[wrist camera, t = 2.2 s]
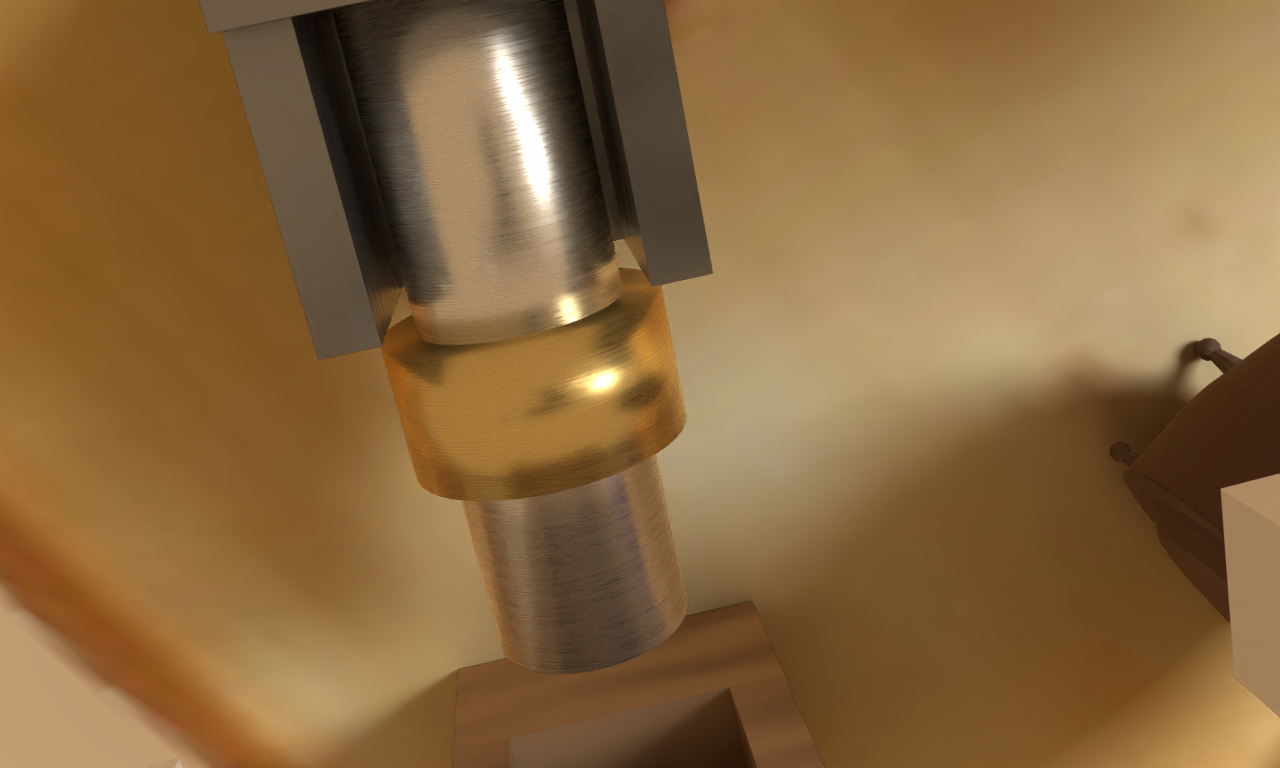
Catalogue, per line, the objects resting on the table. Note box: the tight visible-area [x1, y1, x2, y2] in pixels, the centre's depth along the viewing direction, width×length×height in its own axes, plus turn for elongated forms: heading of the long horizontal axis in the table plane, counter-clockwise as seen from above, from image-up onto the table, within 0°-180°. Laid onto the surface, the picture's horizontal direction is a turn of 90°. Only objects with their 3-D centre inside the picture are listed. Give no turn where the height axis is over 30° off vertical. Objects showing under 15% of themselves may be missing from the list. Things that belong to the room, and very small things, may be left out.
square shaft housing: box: [199, 0, 713, 360], centre depth 25 cm, size 11×8×11 cm
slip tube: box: [332, 0, 688, 674], centre depth 25 cm, size 19×6×6 cm, turn 11°
